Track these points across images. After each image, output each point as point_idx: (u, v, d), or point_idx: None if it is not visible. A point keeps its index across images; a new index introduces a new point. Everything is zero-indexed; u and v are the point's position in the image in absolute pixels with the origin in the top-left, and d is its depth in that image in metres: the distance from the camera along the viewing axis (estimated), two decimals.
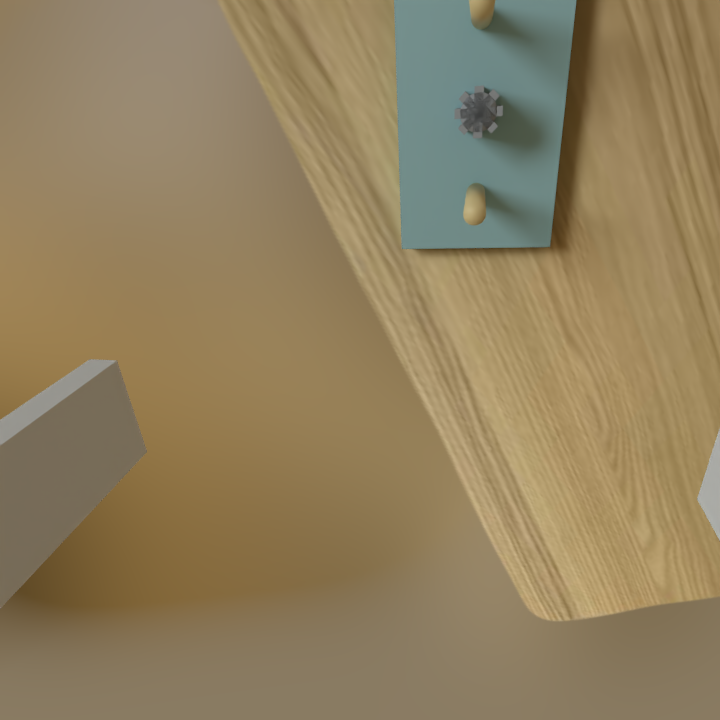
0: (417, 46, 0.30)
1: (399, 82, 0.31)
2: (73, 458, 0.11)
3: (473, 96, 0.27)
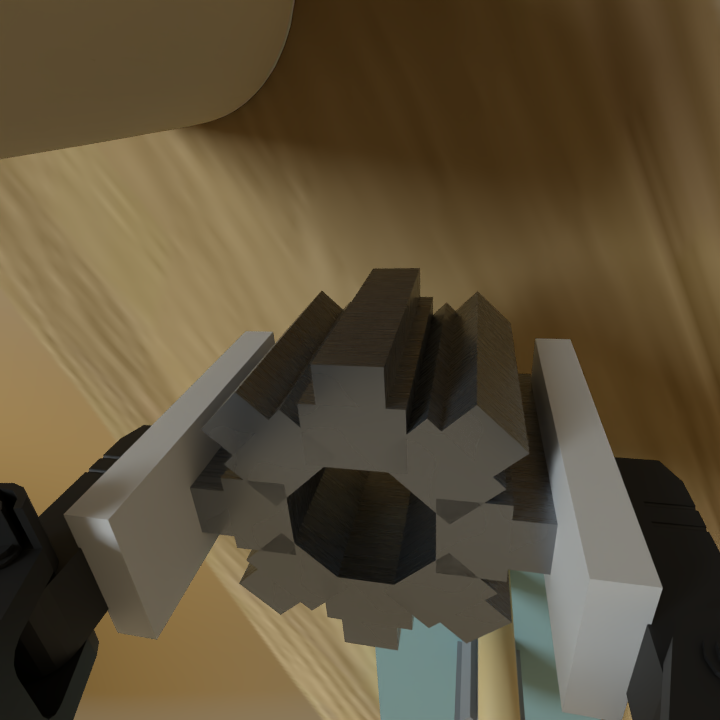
0: None
1: None
2: None
3: None
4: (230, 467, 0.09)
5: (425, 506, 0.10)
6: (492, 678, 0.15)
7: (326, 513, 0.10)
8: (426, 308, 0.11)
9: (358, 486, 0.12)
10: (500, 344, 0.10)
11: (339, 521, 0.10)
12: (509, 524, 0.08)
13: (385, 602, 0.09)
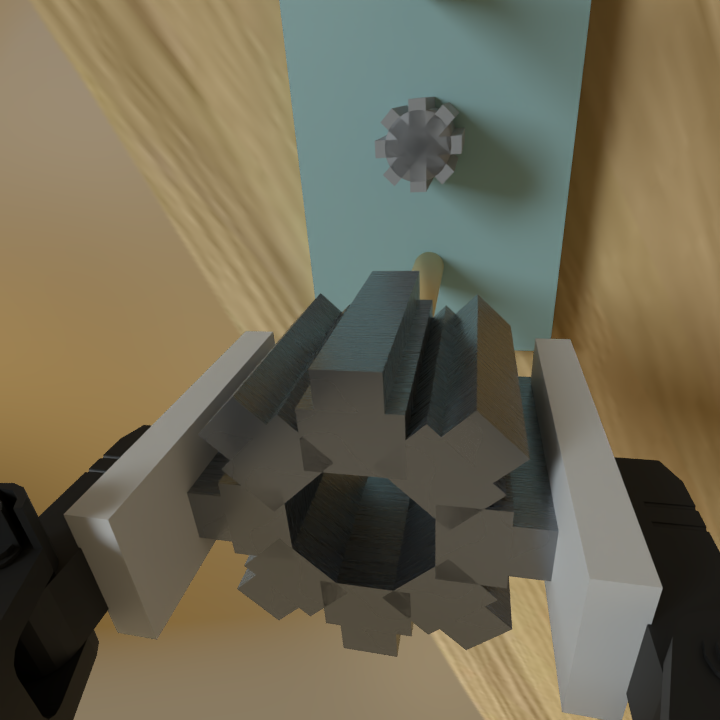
0: (319, 27, 0.17)
1: (294, 89, 0.18)
2: None
3: (407, 117, 0.15)
4: (227, 472, 0.09)
5: (424, 511, 0.10)
6: None
7: (325, 518, 0.10)
8: (426, 311, 0.11)
9: (357, 490, 0.11)
10: (500, 347, 0.10)
11: (338, 526, 0.10)
12: (509, 530, 0.08)
13: (384, 608, 0.09)
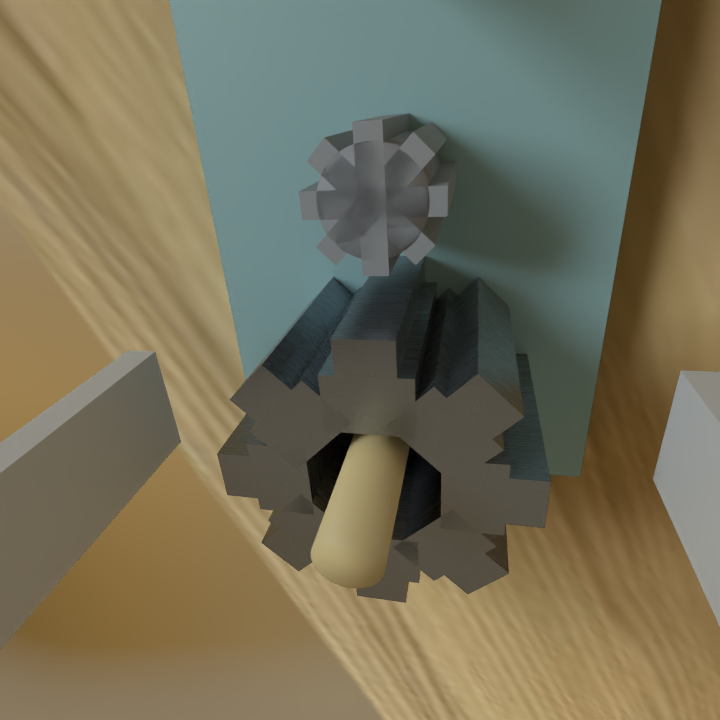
0: (226, 4, 0.11)
1: (195, 100, 0.12)
2: (116, 445, 0.11)
3: (351, 153, 0.08)
4: (256, 434, 0.10)
5: (430, 473, 0.11)
6: None
7: None
8: (431, 292, 0.12)
9: None
10: (499, 324, 0.11)
11: None
12: (506, 482, 0.09)
13: (395, 556, 0.10)
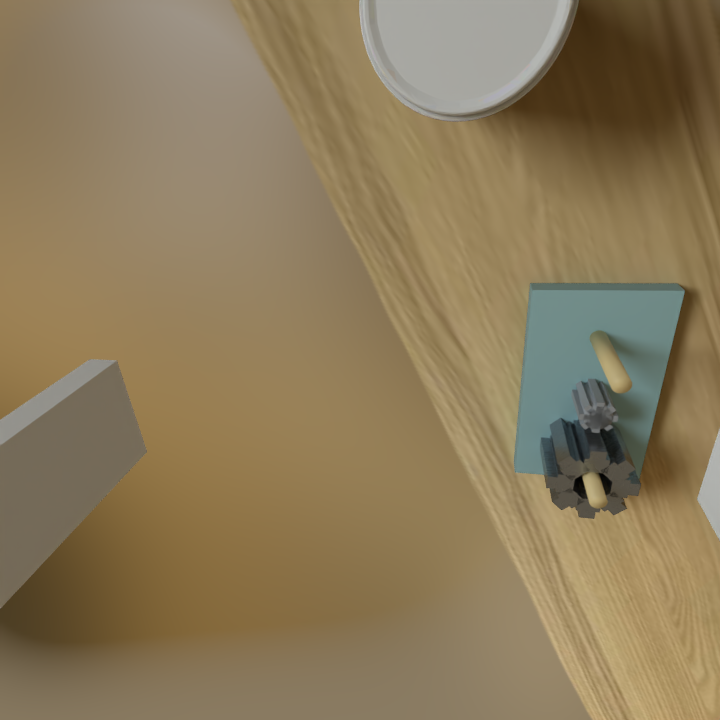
0: (544, 349, 0.38)
1: (526, 369, 0.39)
2: (73, 458, 0.11)
3: (595, 408, 0.36)
4: (562, 471, 0.37)
5: None
6: (611, 359, 0.32)
7: (574, 483, 0.38)
8: None
9: None
10: (621, 439, 0.38)
11: (576, 485, 0.39)
12: (629, 484, 0.36)
13: None
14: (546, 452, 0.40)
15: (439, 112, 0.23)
